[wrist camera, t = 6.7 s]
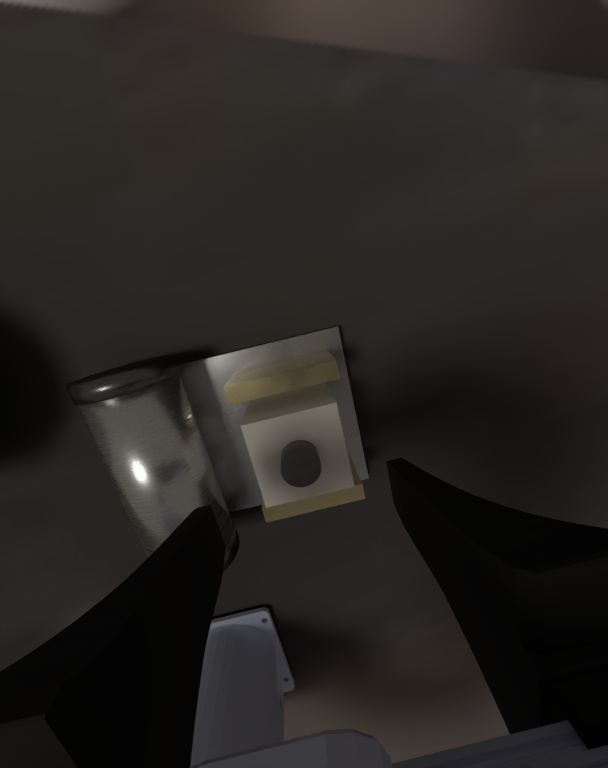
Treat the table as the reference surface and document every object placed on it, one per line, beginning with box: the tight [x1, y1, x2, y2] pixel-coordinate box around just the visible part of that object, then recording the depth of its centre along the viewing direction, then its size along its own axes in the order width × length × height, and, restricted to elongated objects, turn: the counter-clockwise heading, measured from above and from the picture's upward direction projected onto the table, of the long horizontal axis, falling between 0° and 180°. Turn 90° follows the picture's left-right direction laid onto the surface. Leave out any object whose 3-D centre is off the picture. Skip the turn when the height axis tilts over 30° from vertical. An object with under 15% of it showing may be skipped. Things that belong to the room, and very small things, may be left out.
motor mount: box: [66, 326, 369, 572], centre depth 18 cm, size 13×15×6 cm
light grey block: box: [241, 382, 354, 508], centre depth 18 cm, size 5×5×6 cm
